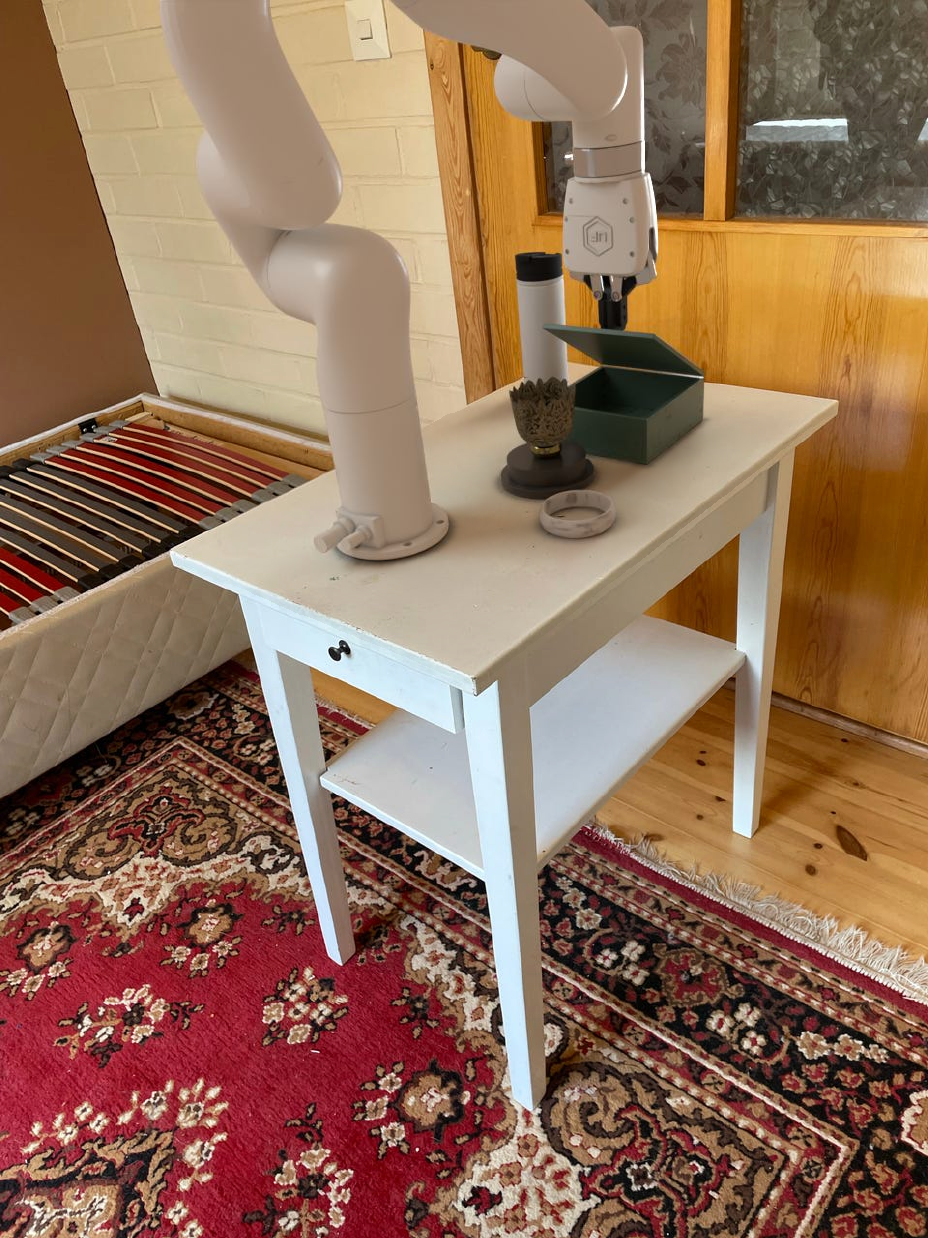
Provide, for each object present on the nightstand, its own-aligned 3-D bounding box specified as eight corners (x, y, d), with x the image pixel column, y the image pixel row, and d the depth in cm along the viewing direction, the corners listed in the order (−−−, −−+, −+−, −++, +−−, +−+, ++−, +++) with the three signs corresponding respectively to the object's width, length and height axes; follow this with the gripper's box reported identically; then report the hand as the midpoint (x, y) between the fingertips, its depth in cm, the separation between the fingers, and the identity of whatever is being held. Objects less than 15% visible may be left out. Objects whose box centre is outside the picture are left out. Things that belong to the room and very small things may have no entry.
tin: (647, 464, 110) (646, 419, 107) (542, 446, 119) (539, 403, 116) (703, 419, 120) (704, 376, 117) (603, 405, 128) (601, 364, 125)
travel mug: (514, 401, 133) (502, 254, 122) (542, 386, 137) (533, 243, 126) (550, 408, 129) (541, 257, 119) (577, 392, 133) (571, 245, 123)
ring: (564, 499, 105) (563, 483, 104) (629, 512, 101) (629, 495, 100) (525, 530, 100) (524, 513, 99) (592, 545, 95) (591, 528, 94)
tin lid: (653, 338, 104) (654, 333, 104) (542, 327, 112) (543, 323, 112) (703, 376, 117) (705, 371, 117) (601, 364, 125) (602, 360, 125)
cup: (503, 452, 111) (497, 386, 106) (558, 436, 113) (554, 371, 108) (533, 473, 105) (528, 404, 100) (590, 456, 107) (588, 388, 103)
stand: (562, 506, 104) (560, 481, 102) (482, 488, 110) (480, 465, 108) (611, 467, 111) (611, 444, 109) (534, 453, 117) (532, 430, 115)
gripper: (531, 169, 103) (543, 336, 113) (655, 167, 94) (655, 347, 104) (568, 157, 107) (575, 318, 117) (688, 154, 99) (686, 327, 109)
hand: (613, 331), depth 111 cm, fingers closed
